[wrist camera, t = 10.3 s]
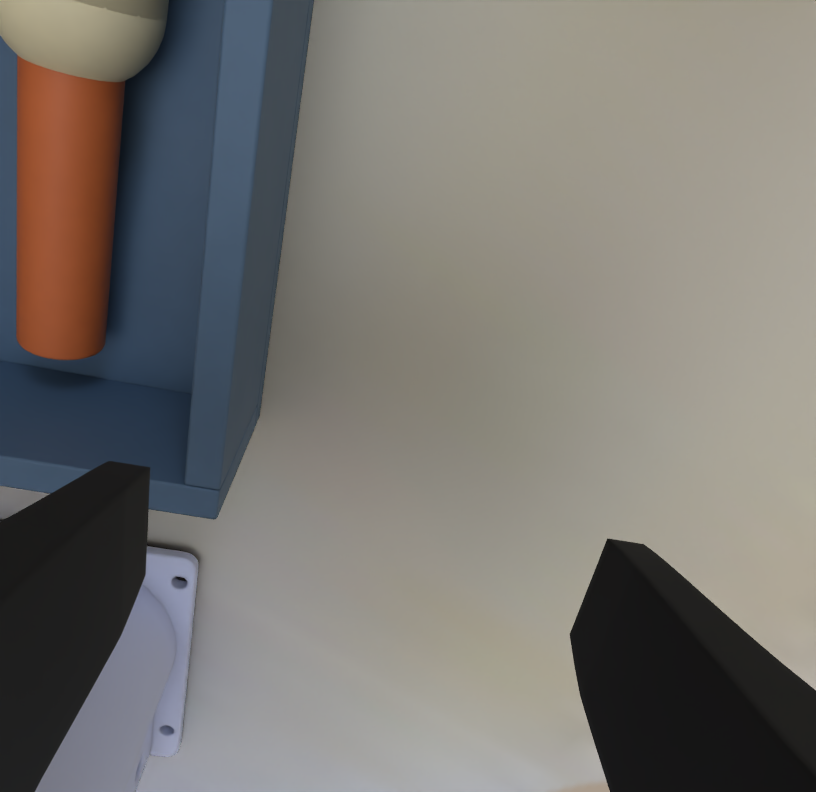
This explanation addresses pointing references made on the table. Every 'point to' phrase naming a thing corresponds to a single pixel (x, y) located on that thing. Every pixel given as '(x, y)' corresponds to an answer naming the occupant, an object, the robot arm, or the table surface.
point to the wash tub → (170, 264)
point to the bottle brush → (71, 159)
